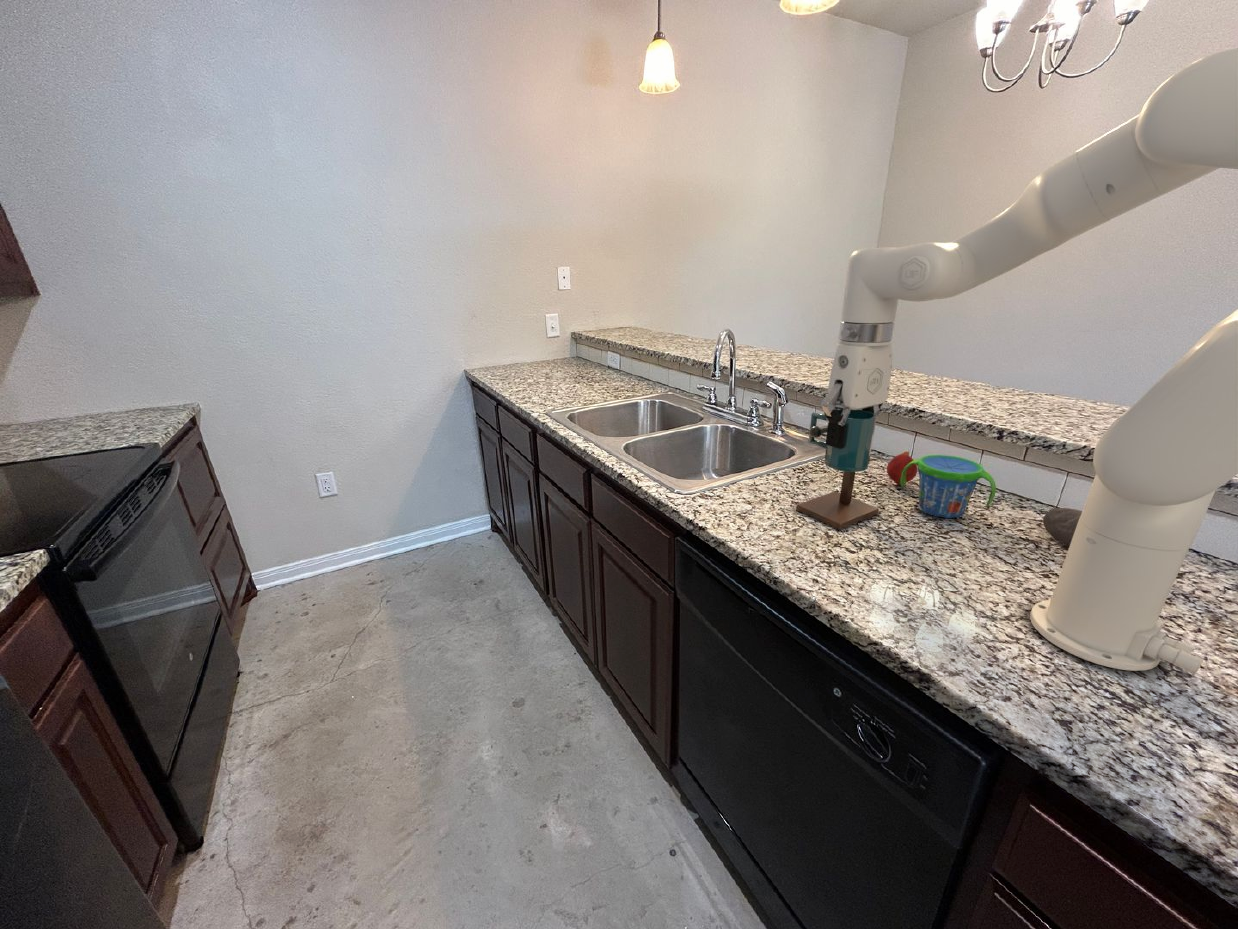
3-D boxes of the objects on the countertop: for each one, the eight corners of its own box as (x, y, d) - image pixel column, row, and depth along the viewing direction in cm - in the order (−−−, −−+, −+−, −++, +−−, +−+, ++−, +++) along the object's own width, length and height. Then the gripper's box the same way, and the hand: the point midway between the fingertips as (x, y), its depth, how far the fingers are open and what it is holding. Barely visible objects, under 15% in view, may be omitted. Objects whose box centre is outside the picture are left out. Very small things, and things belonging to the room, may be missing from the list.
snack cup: (887, 506, 101) (896, 459, 98) (909, 491, 108) (918, 447, 104) (975, 534, 90) (989, 482, 86) (994, 516, 96) (1008, 467, 93)
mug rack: (878, 513, 98) (896, 416, 91) (817, 538, 90) (832, 432, 83) (834, 496, 106) (847, 405, 99) (775, 517, 98) (785, 419, 91)
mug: (876, 466, 84) (885, 414, 81) (851, 475, 81) (859, 421, 78) (819, 448, 93) (825, 401, 90) (795, 455, 90) (800, 407, 87)
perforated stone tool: (1028, 531, 91) (1038, 496, 88) (1054, 529, 91) (1065, 494, 89) (1113, 577, 77) (1129, 538, 74) (1143, 575, 77) (1160, 535, 75)
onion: (887, 488, 110) (893, 454, 107) (882, 478, 115) (888, 445, 112) (916, 491, 108) (923, 456, 105) (910, 481, 113) (917, 447, 110)
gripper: (852, 340, 70) (835, 459, 77) (920, 331, 79) (900, 438, 85) (808, 336, 76) (796, 446, 83) (876, 328, 85) (860, 428, 91)
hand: (849, 441), depth 84 cm, fingers closed on mug, 6 cm apart
